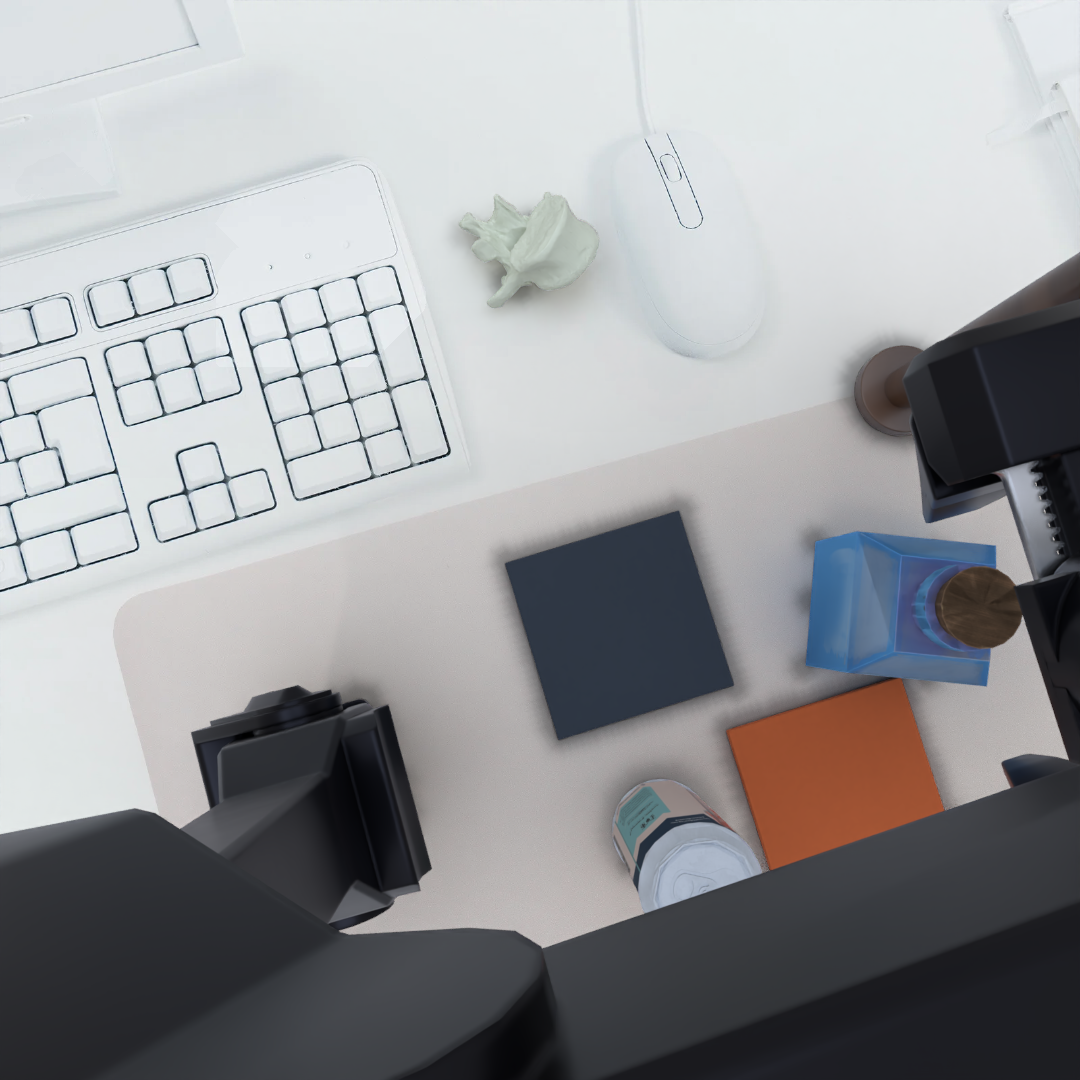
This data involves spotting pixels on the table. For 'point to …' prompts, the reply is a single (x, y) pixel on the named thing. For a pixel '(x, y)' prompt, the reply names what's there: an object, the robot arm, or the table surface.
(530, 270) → the vertebra
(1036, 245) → the table surface
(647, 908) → the beer can
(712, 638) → the slate mat
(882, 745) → the terracotta mat
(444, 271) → the table surface
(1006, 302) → the marker post
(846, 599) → the perfume bottle
